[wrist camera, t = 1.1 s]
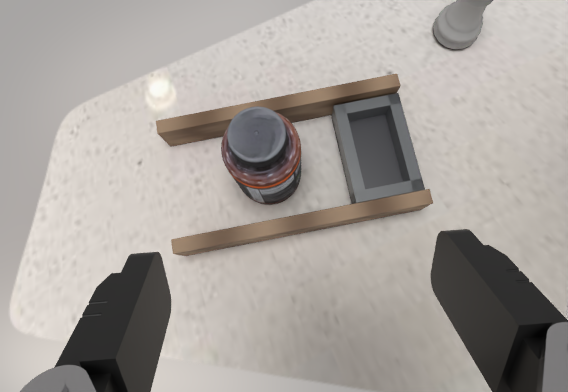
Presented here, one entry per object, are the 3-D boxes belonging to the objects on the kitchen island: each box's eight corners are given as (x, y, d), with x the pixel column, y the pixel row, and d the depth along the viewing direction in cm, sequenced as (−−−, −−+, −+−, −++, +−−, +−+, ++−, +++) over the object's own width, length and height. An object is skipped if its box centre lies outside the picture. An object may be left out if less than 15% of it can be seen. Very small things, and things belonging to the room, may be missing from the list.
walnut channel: (388, 91, 38) (397, 73, 34) (420, 209, 35) (433, 202, 32) (169, 134, 38) (155, 121, 34) (185, 255, 35) (173, 253, 32)
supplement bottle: (233, 152, 37) (205, 99, 26) (294, 140, 37) (291, 82, 26) (244, 211, 36) (219, 183, 25) (306, 199, 36) (309, 165, 25)
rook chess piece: (433, 10, 39) (466, -56, 32) (477, 15, 39) (522, -51, 31) (429, 49, 39) (462, -9, 31) (475, 54, 38) (520, -3, 30)
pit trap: (391, 104, 37) (398, 92, 35) (416, 195, 36) (424, 189, 33) (331, 116, 37) (333, 105, 35) (352, 207, 36) (356, 202, 33)
